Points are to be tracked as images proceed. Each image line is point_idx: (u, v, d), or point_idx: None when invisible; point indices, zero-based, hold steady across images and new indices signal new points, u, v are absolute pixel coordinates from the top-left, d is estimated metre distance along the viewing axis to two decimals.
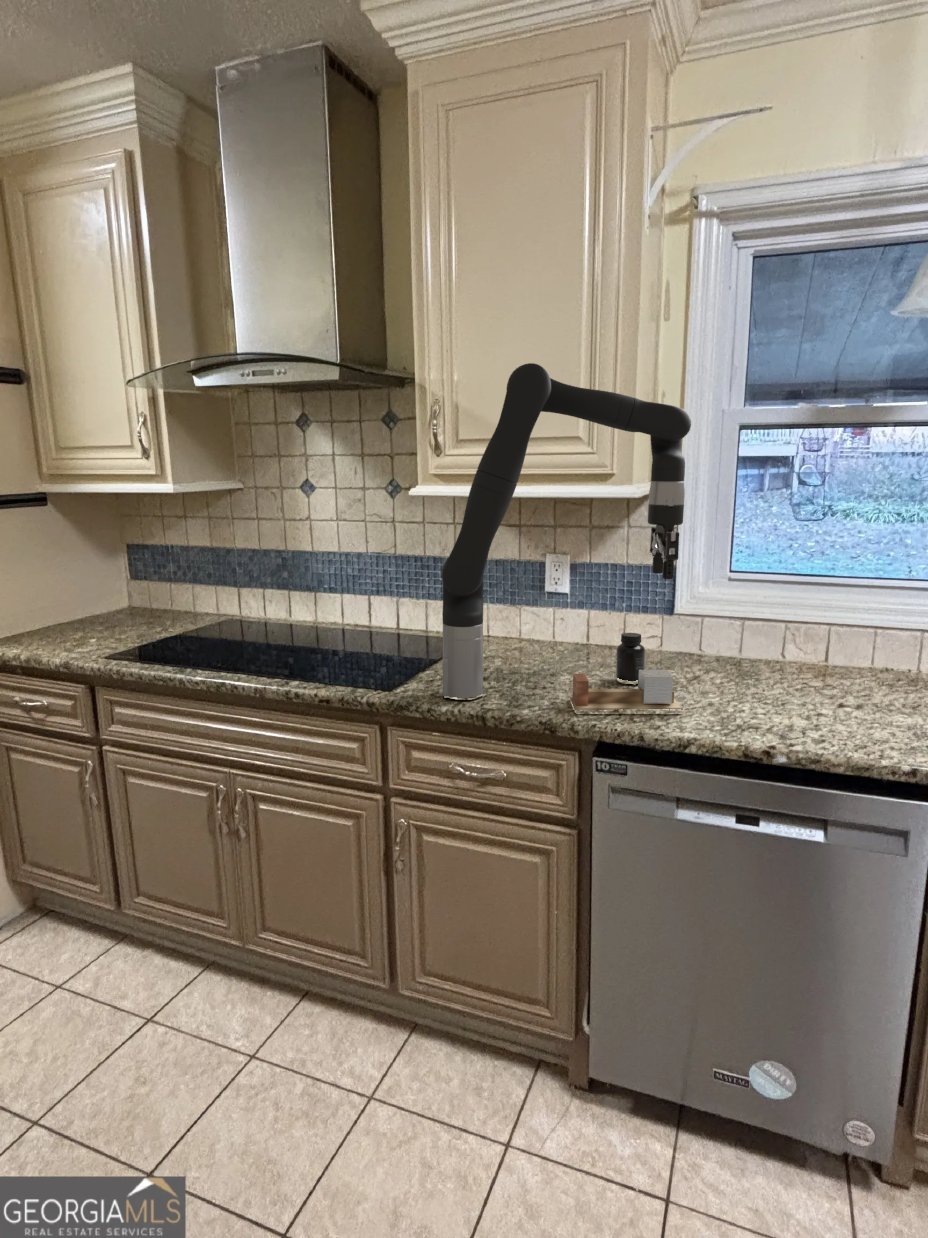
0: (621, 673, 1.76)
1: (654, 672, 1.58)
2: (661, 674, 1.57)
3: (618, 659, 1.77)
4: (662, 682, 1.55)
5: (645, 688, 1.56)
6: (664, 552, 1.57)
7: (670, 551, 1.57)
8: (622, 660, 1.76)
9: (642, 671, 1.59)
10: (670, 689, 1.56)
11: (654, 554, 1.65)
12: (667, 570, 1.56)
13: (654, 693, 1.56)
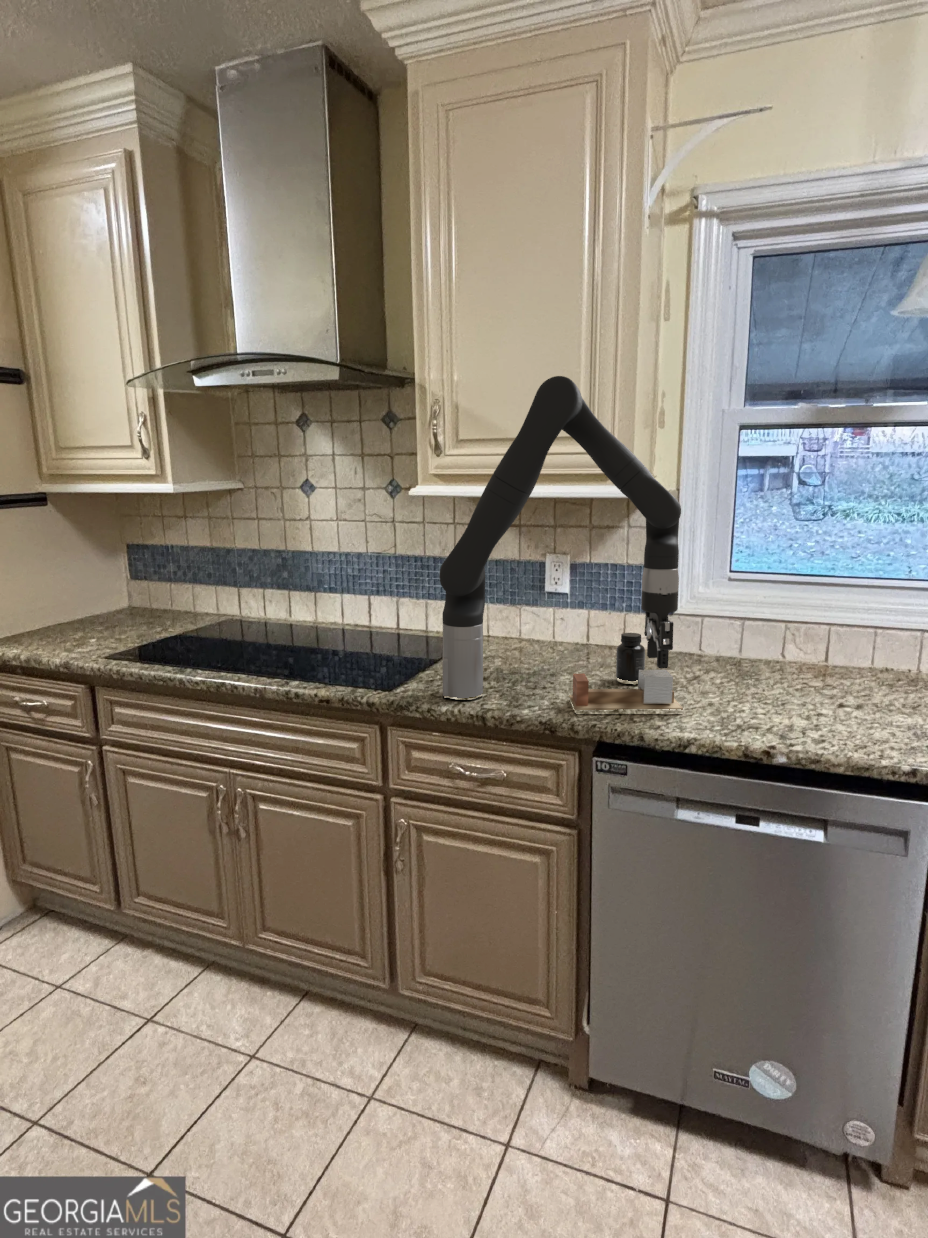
0: (621, 673, 1.76)
1: (654, 672, 1.58)
2: (661, 674, 1.57)
3: (618, 659, 1.77)
4: (662, 682, 1.55)
5: (645, 688, 1.56)
6: (658, 641, 1.52)
7: (664, 640, 1.53)
8: (622, 660, 1.76)
9: (642, 671, 1.59)
10: (670, 689, 1.56)
11: (649, 639, 1.61)
12: (662, 660, 1.52)
13: (654, 693, 1.56)
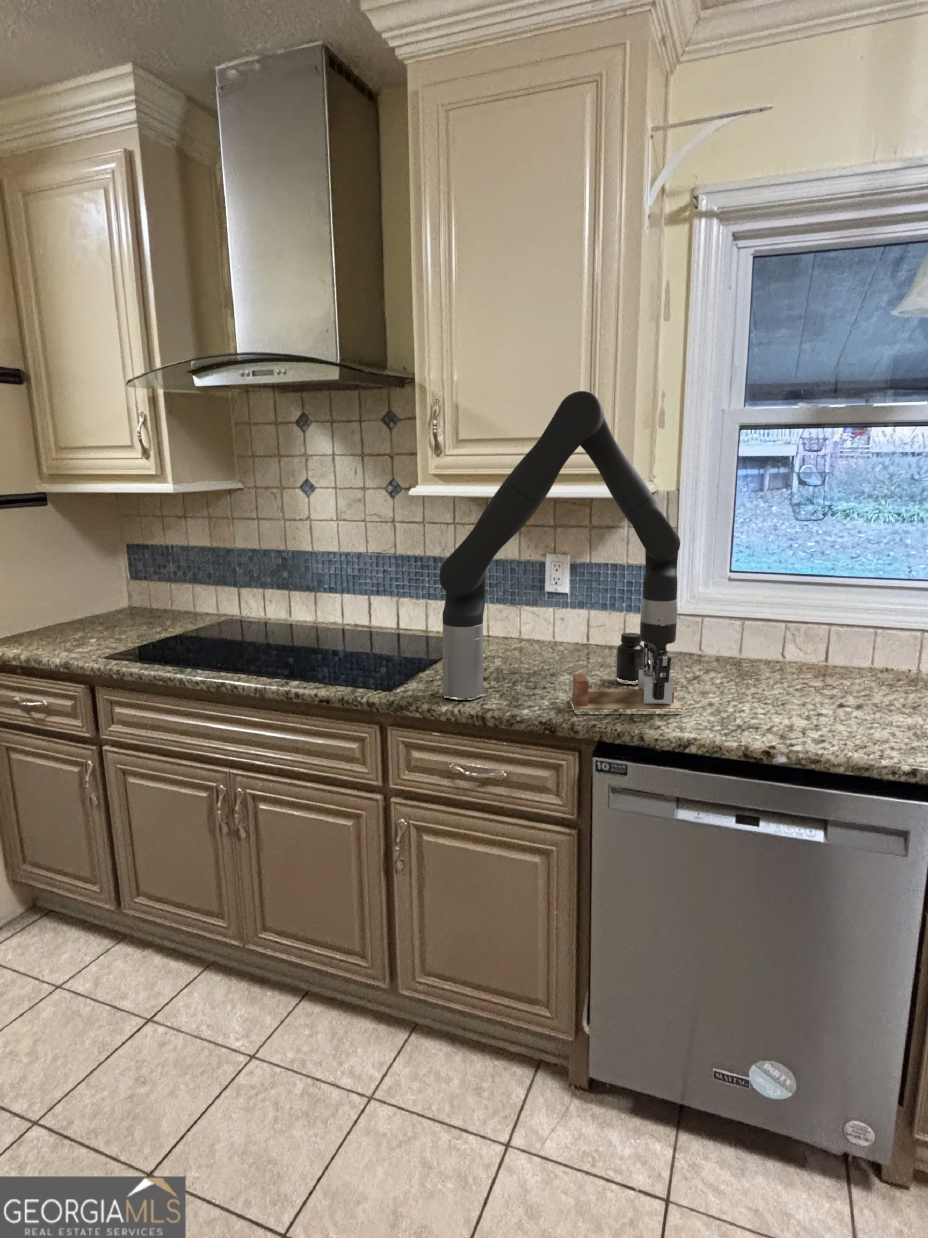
0: (621, 673, 1.76)
1: None
2: (661, 674, 1.57)
3: (618, 659, 1.77)
4: None
5: (645, 688, 1.56)
6: (655, 674, 1.54)
7: None
8: (622, 660, 1.76)
9: (642, 671, 1.59)
10: (670, 689, 1.56)
11: None
12: (658, 692, 1.54)
13: None
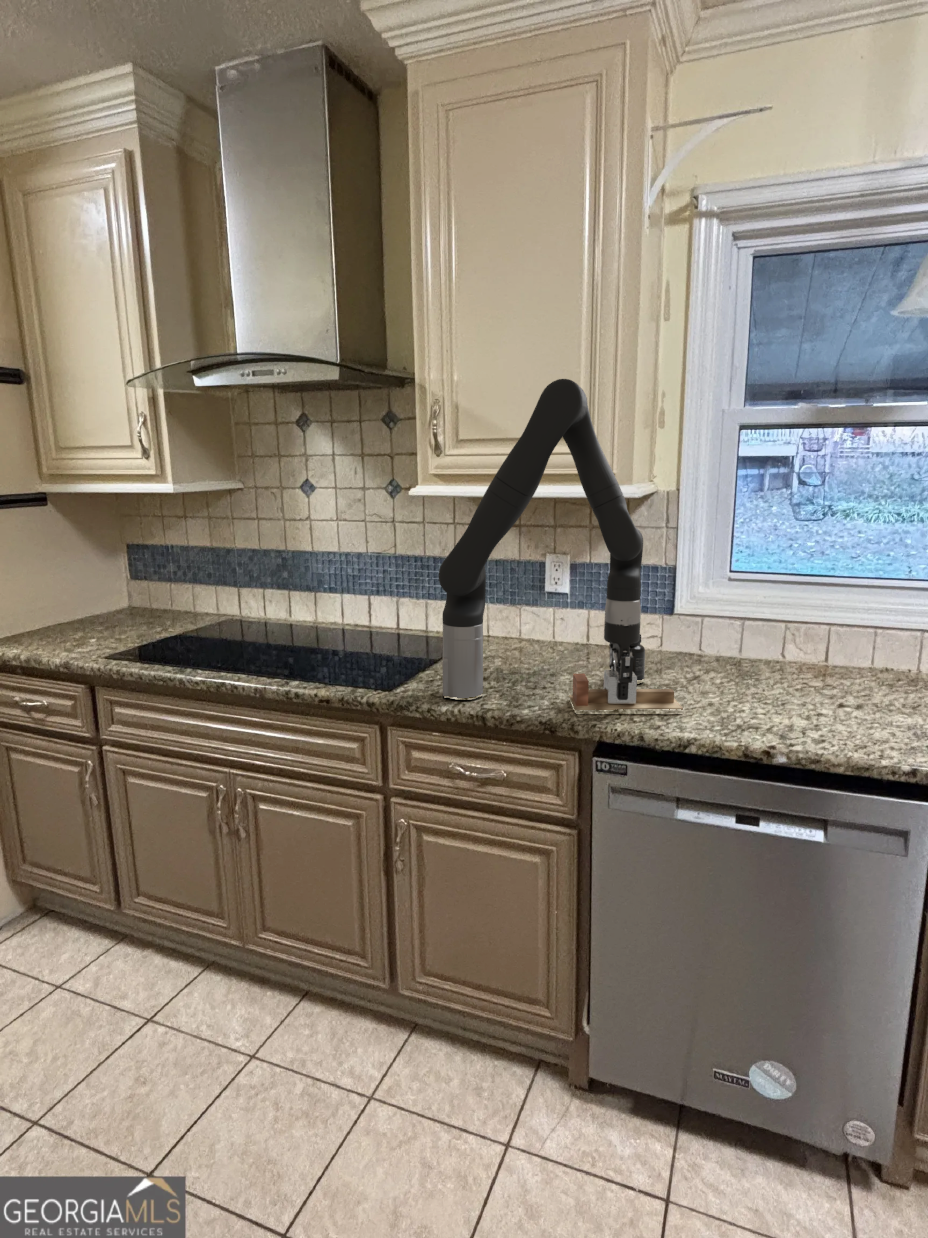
0: None
1: None
2: (625, 674, 1.57)
3: None
4: None
5: (609, 688, 1.56)
6: (619, 674, 1.54)
7: None
8: None
9: (607, 671, 1.59)
10: (634, 689, 1.56)
11: None
12: (621, 692, 1.54)
13: None
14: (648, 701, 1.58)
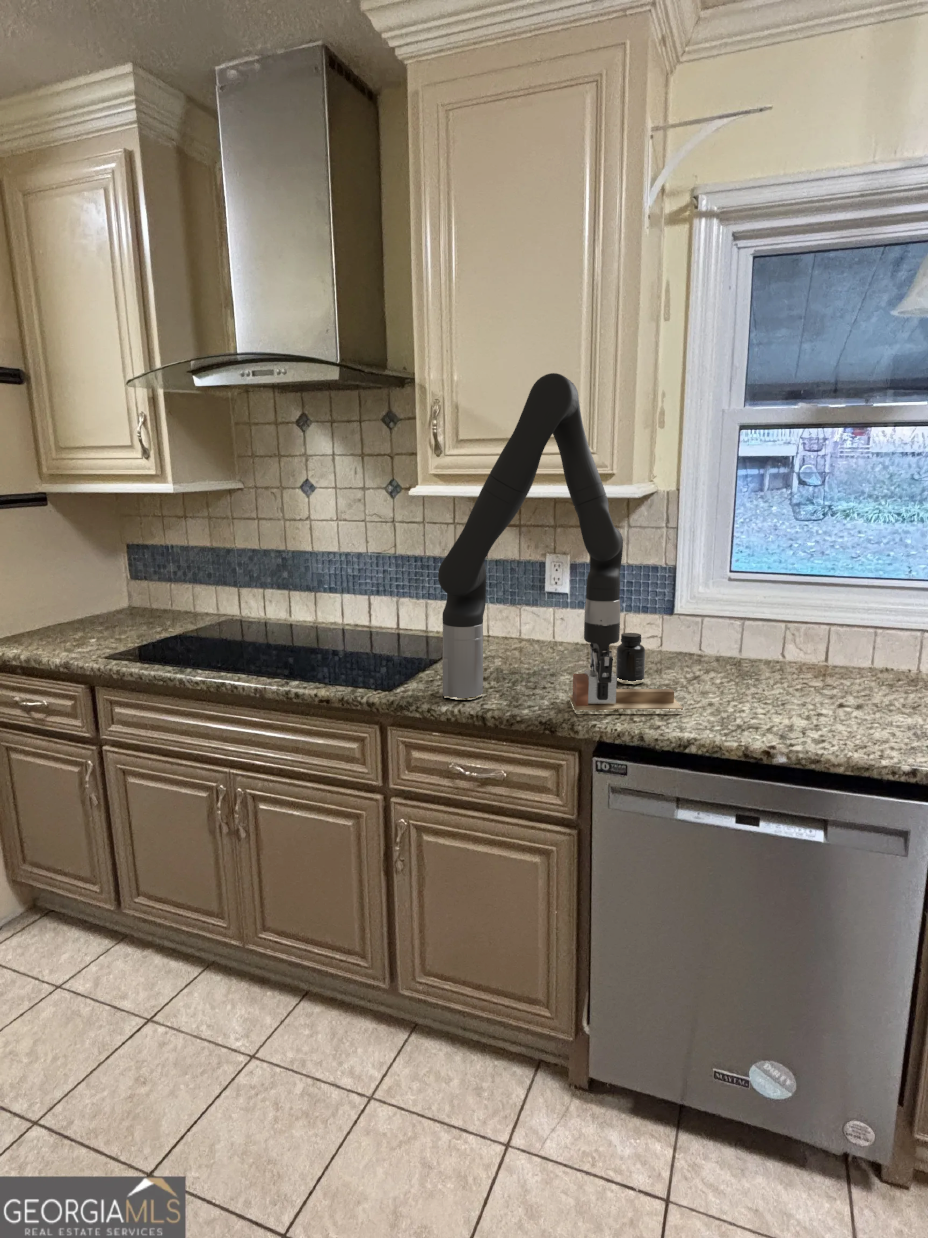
0: (621, 673, 1.76)
1: None
2: (605, 674, 1.57)
3: (618, 659, 1.77)
4: None
5: (589, 688, 1.56)
6: (598, 674, 1.54)
7: None
8: (622, 661, 1.76)
9: (587, 671, 1.59)
10: (614, 689, 1.56)
11: None
12: (601, 692, 1.55)
13: None
14: (648, 701, 1.58)
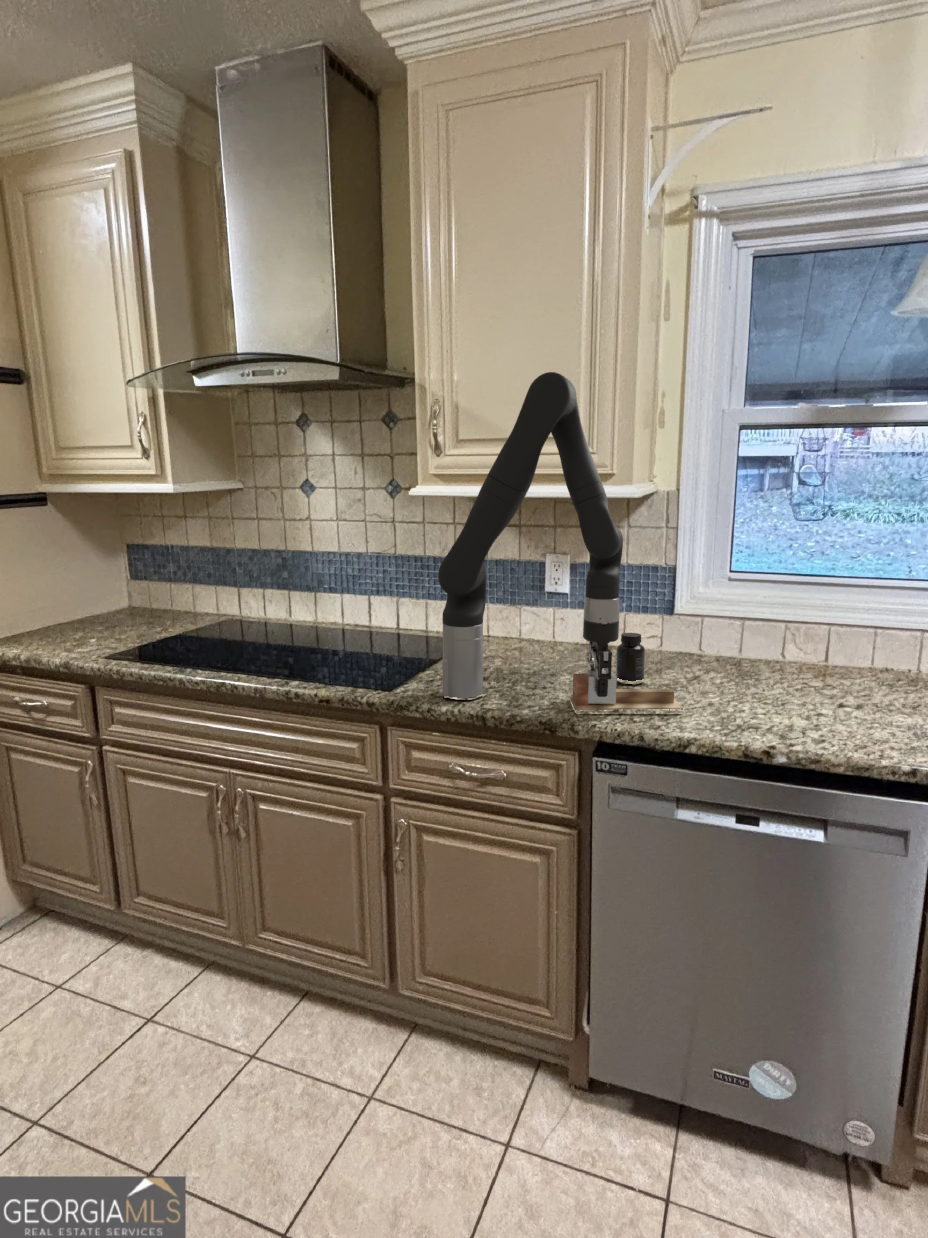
0: (621, 673, 1.76)
1: None
2: None
3: (618, 659, 1.77)
4: None
5: (589, 688, 1.56)
6: (598, 670, 1.53)
7: (604, 669, 1.54)
8: (622, 661, 1.76)
9: (587, 671, 1.59)
10: (614, 689, 1.56)
11: (591, 666, 1.62)
12: (601, 688, 1.53)
13: None
14: (648, 701, 1.58)
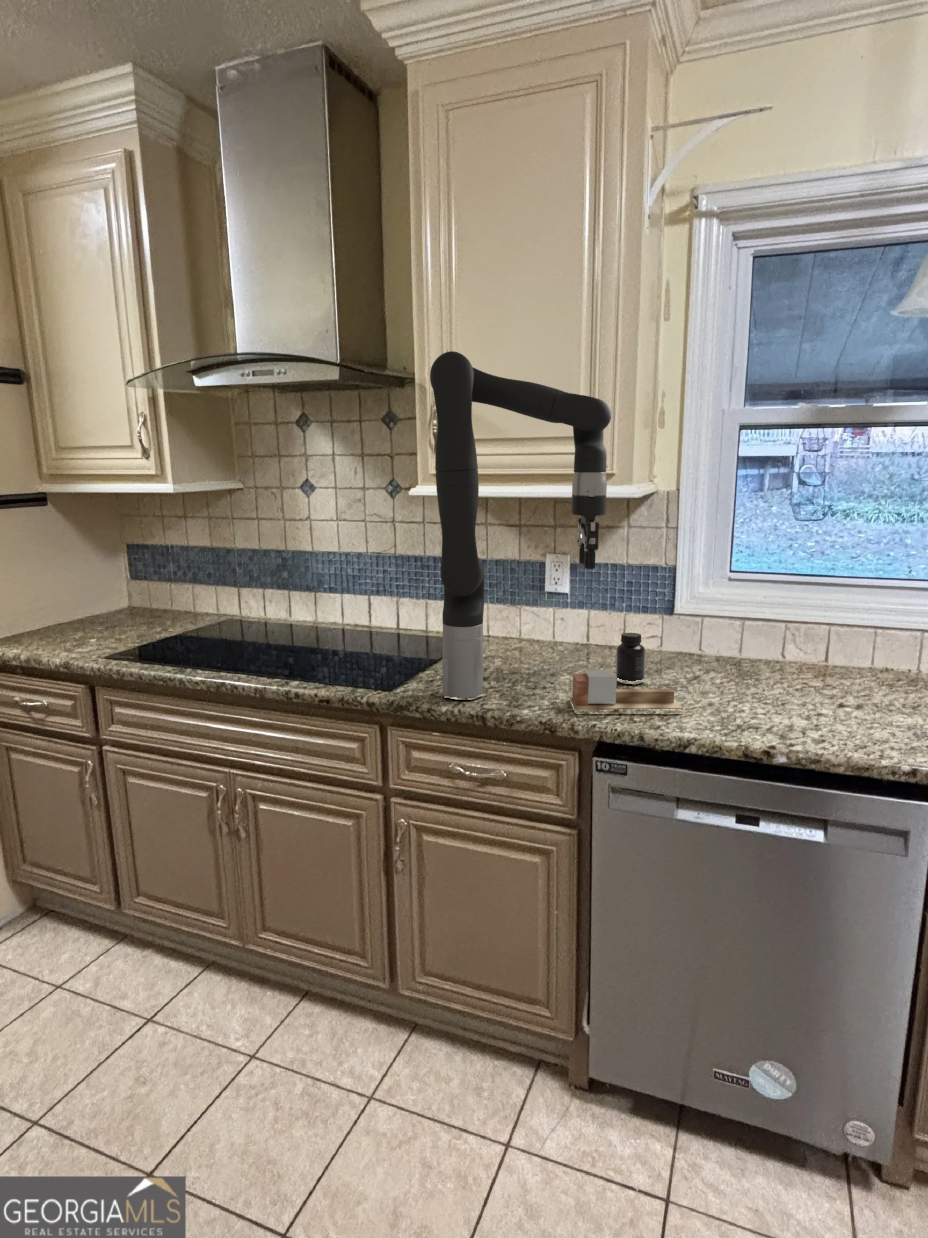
0: (621, 673, 1.76)
1: (599, 672, 1.59)
2: (605, 674, 1.57)
3: (618, 659, 1.77)
4: (606, 682, 1.56)
5: (589, 688, 1.56)
6: (585, 542, 1.59)
7: (592, 541, 1.59)
8: (622, 660, 1.76)
9: (587, 671, 1.59)
10: (614, 689, 1.56)
11: (580, 544, 1.67)
12: (588, 560, 1.59)
13: (598, 693, 1.56)
14: (648, 701, 1.58)
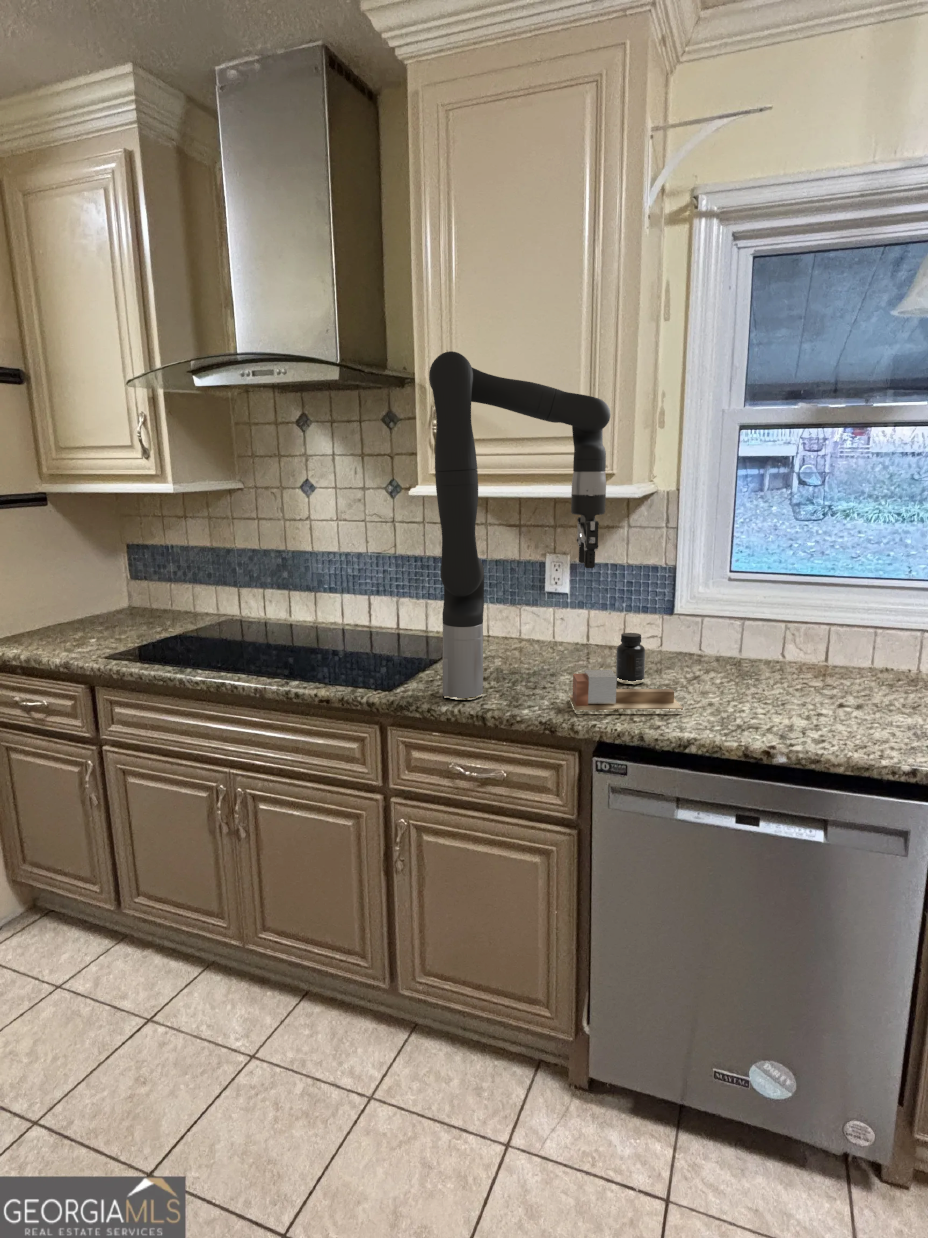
0: (621, 673, 1.76)
1: (599, 672, 1.59)
2: (605, 674, 1.57)
3: (618, 659, 1.77)
4: (606, 682, 1.56)
5: (589, 688, 1.56)
6: (585, 541, 1.59)
7: (591, 540, 1.59)
8: (622, 661, 1.76)
9: (587, 671, 1.59)
10: (614, 689, 1.56)
11: (580, 544, 1.67)
12: (588, 559, 1.59)
13: (598, 693, 1.56)
14: (648, 701, 1.58)
